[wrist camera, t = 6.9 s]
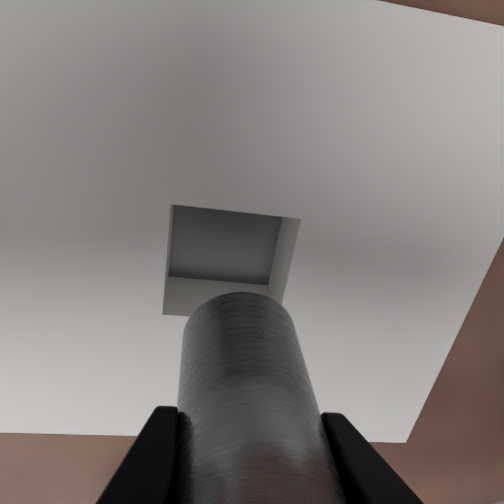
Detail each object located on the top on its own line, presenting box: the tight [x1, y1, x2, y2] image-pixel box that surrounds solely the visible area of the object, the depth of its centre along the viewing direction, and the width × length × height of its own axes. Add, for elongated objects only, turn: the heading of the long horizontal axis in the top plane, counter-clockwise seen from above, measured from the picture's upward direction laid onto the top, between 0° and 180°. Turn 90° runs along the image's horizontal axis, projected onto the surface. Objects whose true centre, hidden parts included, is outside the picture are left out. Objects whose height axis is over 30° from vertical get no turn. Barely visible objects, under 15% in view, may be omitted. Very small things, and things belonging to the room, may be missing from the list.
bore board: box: [0, 0, 504, 443], centre depth 15 cm, size 18×16×3 cm
